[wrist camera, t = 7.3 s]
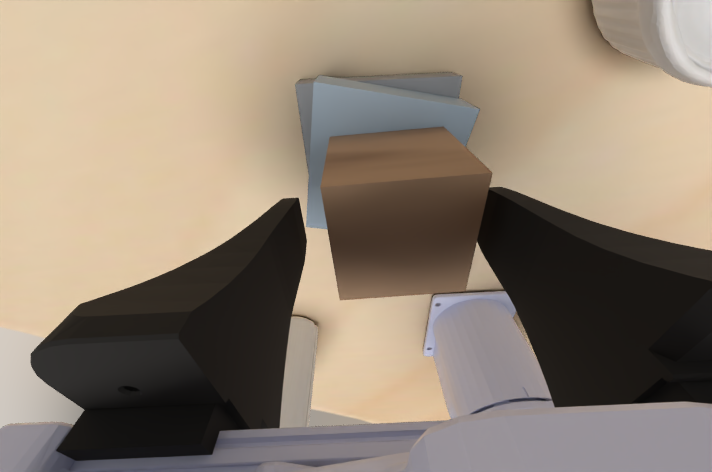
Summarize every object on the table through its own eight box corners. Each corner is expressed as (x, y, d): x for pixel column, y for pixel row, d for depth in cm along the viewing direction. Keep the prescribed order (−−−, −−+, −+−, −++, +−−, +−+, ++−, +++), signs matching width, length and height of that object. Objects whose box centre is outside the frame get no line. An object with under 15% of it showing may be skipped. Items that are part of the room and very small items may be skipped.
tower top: (420, 217, 18) (429, 240, 16) (311, 204, 17) (306, 226, 15) (460, 98, 14) (479, 109, 12) (319, 74, 13) (313, 81, 11)
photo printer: (300, 371, 32) (278, 523, 22) (263, 365, 31) (222, 521, 21) (324, 319, 26) (310, 491, 16) (280, 310, 25) (235, 486, 15)
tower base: (429, 199, 20) (439, 218, 18) (319, 204, 20) (316, 223, 18) (447, 71, 15) (462, 75, 13) (302, 78, 15) (295, 84, 13)
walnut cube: (433, 221, 15) (465, 291, 11) (342, 229, 15) (339, 300, 11) (443, 126, 12) (492, 172, 8) (329, 136, 12) (320, 186, 8)
